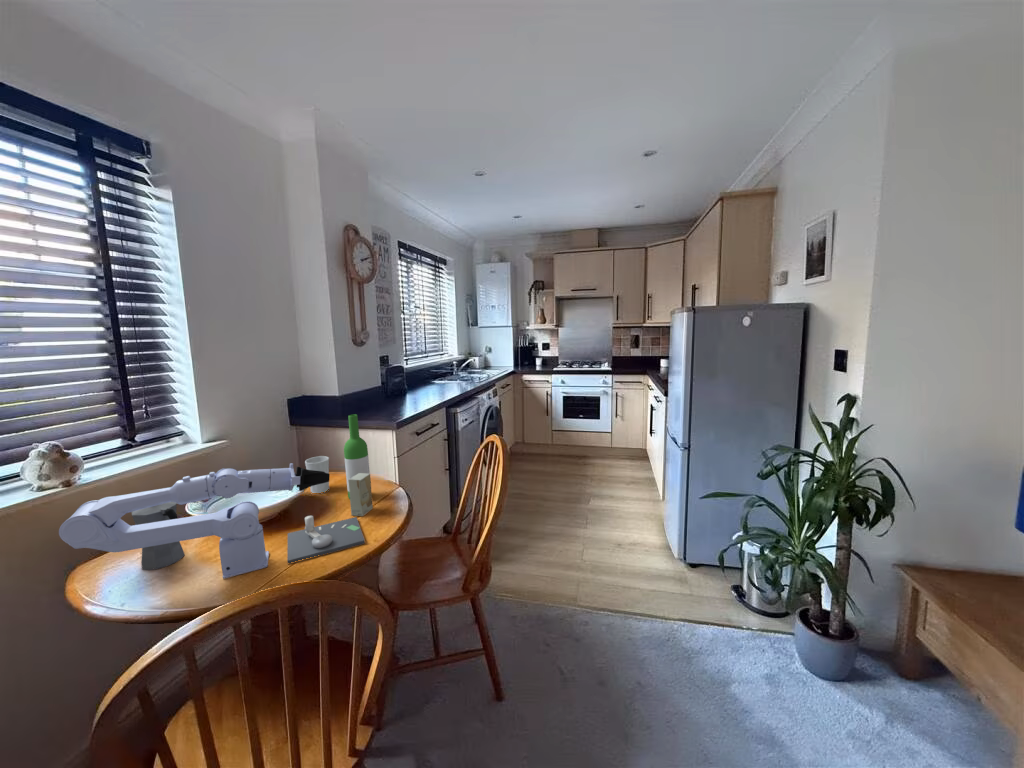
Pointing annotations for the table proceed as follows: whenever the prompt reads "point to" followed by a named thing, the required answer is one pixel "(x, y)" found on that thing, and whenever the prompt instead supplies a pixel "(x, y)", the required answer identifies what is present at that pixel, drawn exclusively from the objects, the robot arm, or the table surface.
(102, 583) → the table surface
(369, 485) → the skincare box
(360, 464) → the wine bottle
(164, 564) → the coffeepot
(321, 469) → the cup
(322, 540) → the tuning lever
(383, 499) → the table surface
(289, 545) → the gauge board
